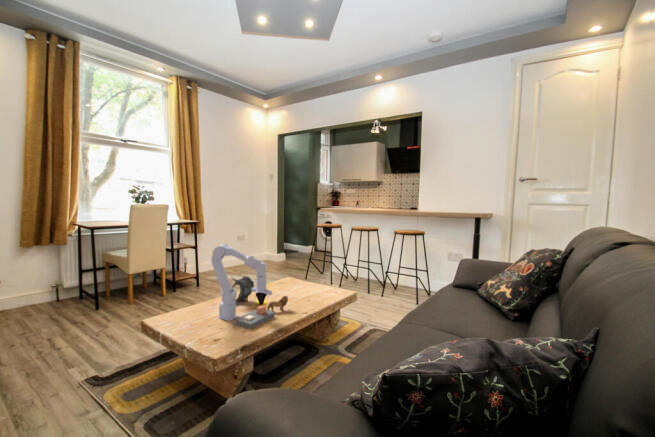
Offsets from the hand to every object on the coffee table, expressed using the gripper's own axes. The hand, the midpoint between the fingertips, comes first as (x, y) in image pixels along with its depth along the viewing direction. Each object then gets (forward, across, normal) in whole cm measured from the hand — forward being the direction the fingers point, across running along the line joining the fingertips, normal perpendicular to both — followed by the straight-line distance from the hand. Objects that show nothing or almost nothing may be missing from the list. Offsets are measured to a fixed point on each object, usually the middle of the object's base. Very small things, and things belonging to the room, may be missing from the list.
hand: (261, 304), depth 180 cm
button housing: (+8, 0, -5) cm, 9 cm away
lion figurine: (+8, +2, +14) cm, 16 cm away
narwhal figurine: (+8, -28, +13) cm, 32 cm away
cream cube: (+8, 0, -10) cm, 13 cm away
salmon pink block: (+5, 0, 0) cm, 5 cm away
